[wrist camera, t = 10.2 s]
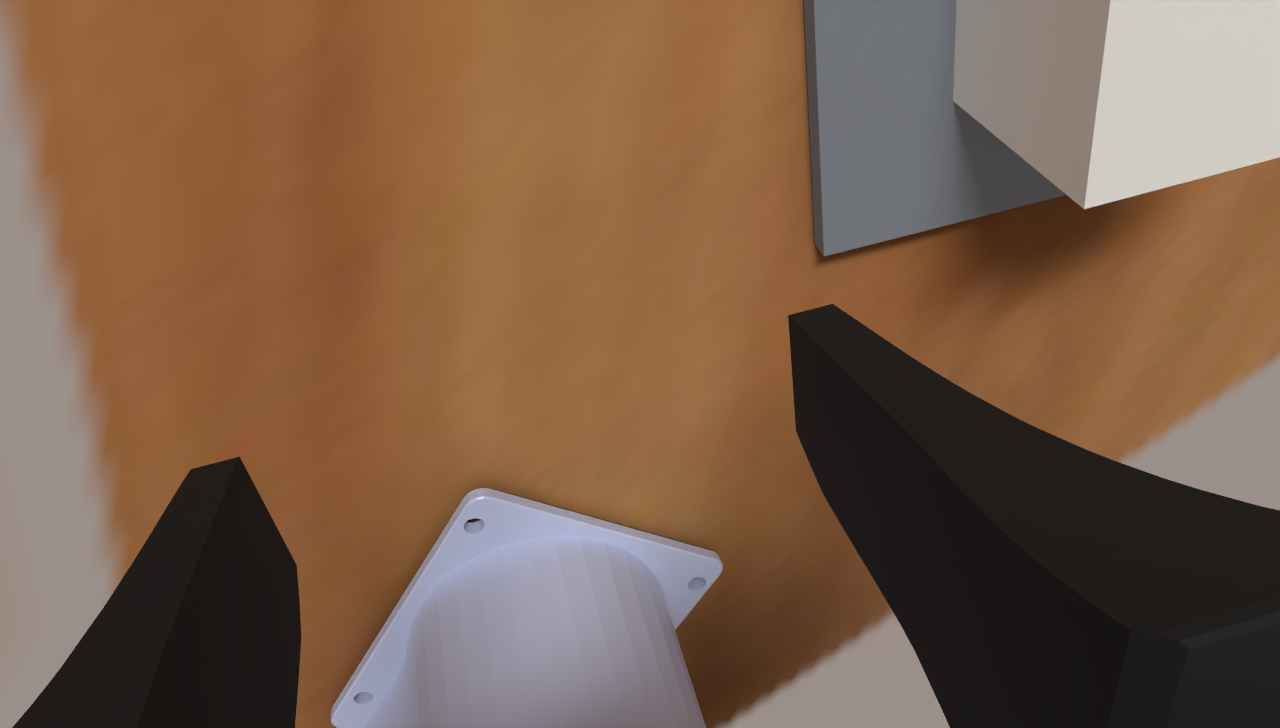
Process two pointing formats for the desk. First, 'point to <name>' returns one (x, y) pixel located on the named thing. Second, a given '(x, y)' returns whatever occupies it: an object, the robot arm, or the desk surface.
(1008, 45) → the cube
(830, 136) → the mat
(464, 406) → the desk surface
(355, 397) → the desk surface
